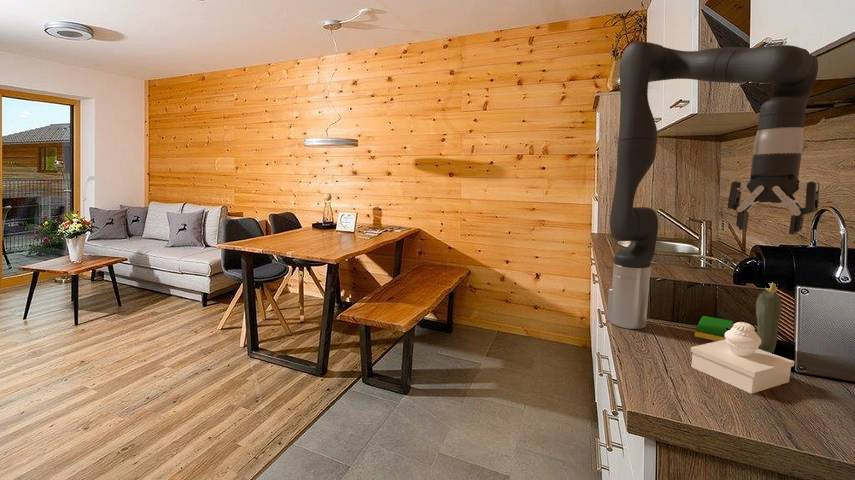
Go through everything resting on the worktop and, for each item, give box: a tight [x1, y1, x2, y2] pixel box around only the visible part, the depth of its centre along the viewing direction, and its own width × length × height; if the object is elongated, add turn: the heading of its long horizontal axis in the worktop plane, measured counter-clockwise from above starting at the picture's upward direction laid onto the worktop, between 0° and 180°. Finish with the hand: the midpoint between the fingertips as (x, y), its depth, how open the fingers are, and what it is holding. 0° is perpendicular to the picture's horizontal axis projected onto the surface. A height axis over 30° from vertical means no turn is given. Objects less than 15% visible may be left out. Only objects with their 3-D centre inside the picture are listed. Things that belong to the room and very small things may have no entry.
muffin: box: [725, 321, 761, 357], centre depth 84 cm, size 6×6×7 cm
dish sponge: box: [694, 315, 734, 342], centre depth 108 cm, size 7×14×2 cm, turn 139°
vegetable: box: [755, 282, 783, 354], centre depth 90 cm, size 4×4×20 cm
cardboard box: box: [690, 339, 795, 394], centre depth 85 cm, size 13×13×5 cm
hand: (766, 231), depth 84 cm, fingers open, 8 cm apart
